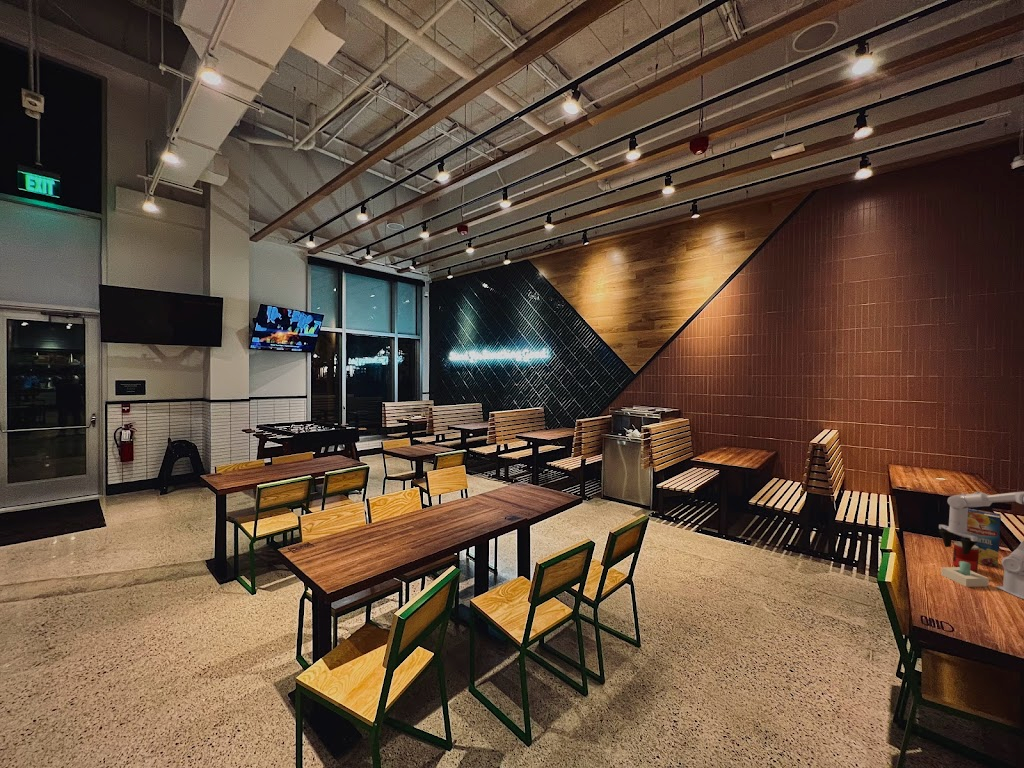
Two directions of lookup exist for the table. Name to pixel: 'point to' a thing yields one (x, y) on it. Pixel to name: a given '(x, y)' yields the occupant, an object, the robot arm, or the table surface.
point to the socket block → (964, 577)
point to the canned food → (965, 556)
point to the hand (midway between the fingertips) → (956, 550)
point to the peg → (965, 568)
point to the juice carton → (985, 535)
